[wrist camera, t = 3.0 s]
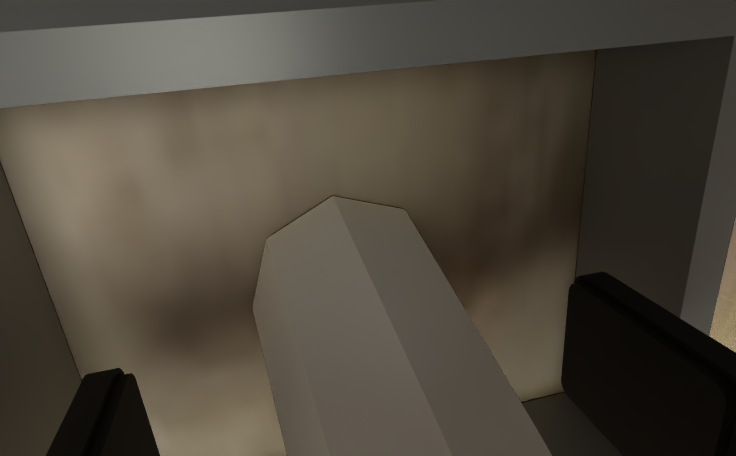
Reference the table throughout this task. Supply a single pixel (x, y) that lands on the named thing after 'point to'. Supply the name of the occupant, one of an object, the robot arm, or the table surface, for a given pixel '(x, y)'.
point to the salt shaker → (377, 344)
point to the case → (407, 50)
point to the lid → (148, 10)
